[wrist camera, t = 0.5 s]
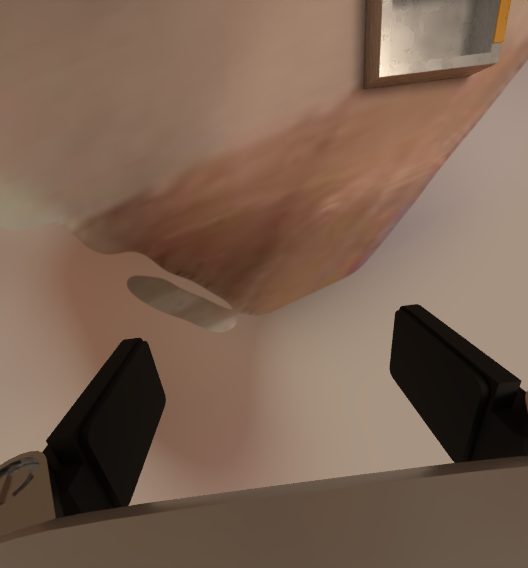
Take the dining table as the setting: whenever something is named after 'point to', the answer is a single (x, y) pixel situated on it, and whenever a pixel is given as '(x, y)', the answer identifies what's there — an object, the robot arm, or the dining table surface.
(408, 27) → the grey divided tray
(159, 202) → the dining table surface
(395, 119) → the dining table surface
